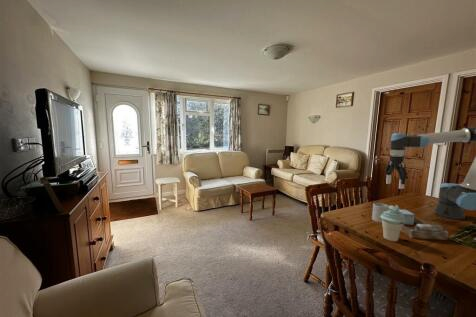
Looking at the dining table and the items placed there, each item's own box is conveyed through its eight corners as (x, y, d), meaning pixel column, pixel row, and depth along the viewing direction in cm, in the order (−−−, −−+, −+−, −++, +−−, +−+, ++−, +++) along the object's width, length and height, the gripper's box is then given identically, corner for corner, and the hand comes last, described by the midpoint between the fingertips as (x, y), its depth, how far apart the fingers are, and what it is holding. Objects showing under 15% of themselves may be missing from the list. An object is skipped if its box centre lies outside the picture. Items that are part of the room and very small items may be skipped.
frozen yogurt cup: (381, 231, 119) (384, 199, 116) (405, 239, 110) (409, 204, 108) (375, 237, 113) (378, 203, 110) (400, 246, 104) (404, 209, 102)
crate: (404, 219, 136) (405, 209, 135) (413, 224, 128) (414, 214, 127) (391, 218, 137) (392, 209, 136) (399, 224, 129) (400, 213, 128)
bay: (416, 221, 132) (418, 210, 131) (448, 240, 109) (450, 227, 108) (387, 220, 134) (388, 209, 133) (412, 238, 111) (413, 225, 110)
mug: (384, 224, 129) (385, 207, 127) (369, 219, 136) (370, 204, 134) (391, 219, 136) (392, 204, 134) (377, 215, 143) (378, 200, 141)
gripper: (380, 154, 150) (378, 181, 152) (403, 158, 125) (401, 191, 127) (391, 154, 149) (389, 181, 151) (416, 158, 124) (414, 191, 127)
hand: (394, 186), depth 139 cm, fingers open, 13 cm apart
